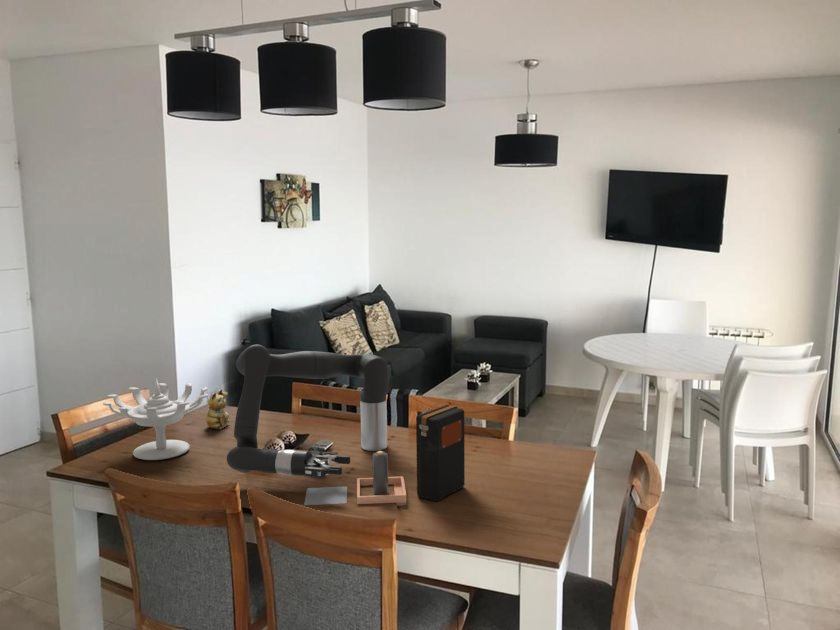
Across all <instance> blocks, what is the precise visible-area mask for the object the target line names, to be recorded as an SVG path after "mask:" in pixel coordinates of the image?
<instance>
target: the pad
mask: <svg viewBox="0 0 840 630" xmlns="http://www.w3.org/2000/svg"><path fill="white" fill-rule="evenodd" d="M347 503H348V486H331V487H330V486H328V487H327V486H326V487H325V486H323V487H309V488H308V487H307V488H306V493H305V499H304V504H303V506H316V505H317V506H318V505H335V504H337V505H338V504H347Z"/></svg>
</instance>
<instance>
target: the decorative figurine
mask: <svg viewBox="0 0 840 630" xmlns="http://www.w3.org/2000/svg"><path fill="white" fill-rule="evenodd" d="M228 395H229V394H228V392H227V391H223V389H218V390H217V391H216V392H213V393H212V394H211V395H210V396H209V397H208V400H207V405H208V409H207V412H206V415H205V422H206V424H207V426H208V427H209V428H210V429H213V428H214V429H216V430H219V429H220V430H223V429H225V428H226V426H227V427H228V423H229V422H231V421H230V419H229V417H230V416H229V415H230V414H229V413H228V412H227V411H225V410H224V409H225V408H226V406H227V400H226V397H227V396H228ZM224 427H225V428H224ZM222 428H223V429H222Z"/></svg>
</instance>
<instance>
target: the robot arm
mask: <svg viewBox="0 0 840 630" xmlns="http://www.w3.org/2000/svg"><path fill="white" fill-rule="evenodd" d="M235 365H236V366H235V367H236V369H237V371H238V372H239V373H240V374H241V375H243V376H244V377H243V378H244V379H243V386H242V391H241V395H240V398H239V402H238V405H237V408H236V409H237V410H236V412H235V414H236V415H235V420H234V428H233V437H234V439H235V440H236V447H233V448H232V449H230V450H229V452H228V453H227V454H226V462H227V465H228V466H229V467H230V468H231V469H232V470H234V471H237V472H240V473H244V474H248V473H251V472H252V471H258V472H262V473H266V474H277V475H278V474H279V475H285V476H296V477H297V476H298V477H300V476H301V477H313V478H316V477H317V478H322V479H324V478H325V477H326V476H329V475H334V476H335V475H338V476H339V475H340V476H341V475H343V467H342V466H338V465H337V466H336V464H340V465H341V464H342V465H350V464H351V456H347V455H345V456H344V455H339V452H336V451H318V452H319V455H317V456H312V454H311V451H310V450H308V449H307V450H306V449H290V448H289V449H263V448H258V430H259V421H260V410H261V403H262V397H263V396H262V395H263V391H264V386H265V381H266V377H287V378H298V379H301V378H302V379H312V380H313V379H315V380H320V379H321V380H325V379H331V378H336V377H340V376H341V377H342V376H346V377H347V376H348V377H349V376H350V377H356V378H360V379H363V380H364V381H363V386H364V387H363V390H362V391H361V392H360V394H359V398H360V399H359V401H360V438H361V439H360V440H361V443H360V444H361V446H360V447H361V448H362V449H363V450H365V451H372V452H374V451H376V452H378V451H382V450H385V449H386V448H388V417H387V416H388V410H387V396H388V393H389V384H390V383H389V381H390V380H389V379H390V378H389V373H390V372H389V365H388V363H387V361H386V360H385V359H384V358H383V357H380V356H379V355H375V354H374V353H360V354H341V353H336V352H327V351H319V350H318V351H317V350H315V351H313V350H302V351H295V352H289V353H284V354H272V353H270V352H269V350H268V348H267V347H265V346H263V345H262V344H251V345H250V346H248V347H246V348H245V349H244V350H243V351H241V353H240V354H239V355H238V357H237V359H236V363H235ZM332 465H333V466H332Z"/></svg>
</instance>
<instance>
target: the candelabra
mask: <svg viewBox="0 0 840 630" xmlns="http://www.w3.org/2000/svg"><path fill="white" fill-rule="evenodd" d="M184 387H185V389H184V392H183V393H182V395H181V396H180V397H178V398H177V399H176V400H170V398H169V386H168V384H166V383H163V382H160V383H159V381H158V378H157V377H156V381H155V388H154V390H155V391H154V394H153V395H151V396H150V397H149V398H148V399H147V400H146V399H145V397H144V396H143V394H142V392H141V388H140V387H134V386H132V387H129V388H127V390H128V391H130V392H132V396H133V399H134V401H135V402H136V404H137V406H133V405H132V406H131V405H129V404H126V403H124V402H123V401H122V400H120V398H119V395H118V394H114V393H113V394H108V395H107V396H106V397H107V398H108V399H113V403H114V404H115V406H118V409H117V408H114V407H113V406H112V403H111V401H105V402H103V403H102V405H103V406H108V407H109V410H110V411H111V412H112V413H114V414H117V415H120V416H122V417H125V418H127V419H129V420H130V419H131V420H133V421H134V422H135V424H137V425H138V426H140V427H149V428H151V427H153V428H154V430H155V441H150V442H147V443H144V444H142V445H139V446H138V447H136V448H135V449H134V450H133V452H132V455H133V457H134V458H136V459H140V460H144V461H159V460H166V459H167V460H168V459H172V458H175V457H179V456H181V455H183V454H185V453H187V452H188V451H189V450H190V447H191V445H190V444H189V443H188V442H187V441H184V440H180V439H167V436H166V427H167V426H168V425H173V424H175V423H177V422H180V421H181V420H183V418H184V415H185V414H187V413H188V412H191V411H193V410H194V409H196V408H198V407H199V406H200V405H201V404H202V403H203V399H204V398H207V397H208V396H209V393H205V392H207V391H208V389H209V386H204V387H203V388H201V389H200V394H199V395H198V396H197V397H196V398H195V399H192V400H191V401H187V400H188V398H189V397H190V396H191V395H192V391H193V389H192V387H193V383H190V382H187V383H185V385H184Z"/></svg>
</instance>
